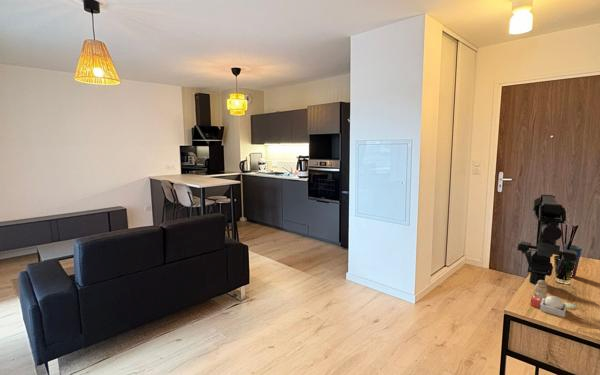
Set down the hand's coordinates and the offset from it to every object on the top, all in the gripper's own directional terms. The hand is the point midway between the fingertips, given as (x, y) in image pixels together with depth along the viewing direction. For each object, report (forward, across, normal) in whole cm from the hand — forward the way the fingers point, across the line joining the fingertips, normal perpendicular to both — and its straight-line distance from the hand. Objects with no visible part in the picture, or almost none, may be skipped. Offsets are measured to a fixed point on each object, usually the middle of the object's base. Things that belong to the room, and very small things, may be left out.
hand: (543, 270), depth 131 cm
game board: (+13, +5, -4) cm, 14 cm away
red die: (+13, -1, -9) cm, 16 cm away
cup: (+13, +8, +41) cm, 44 cm away
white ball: (+12, +5, -9) cm, 16 cm away
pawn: (+12, 0, 0) cm, 12 cm away
